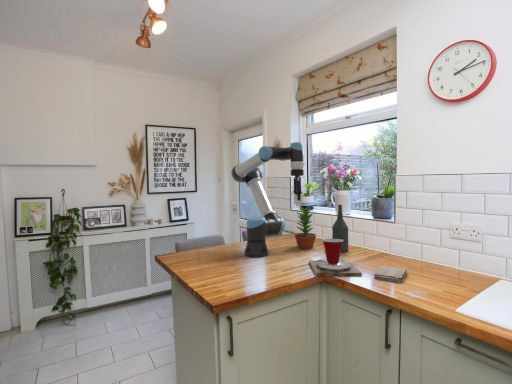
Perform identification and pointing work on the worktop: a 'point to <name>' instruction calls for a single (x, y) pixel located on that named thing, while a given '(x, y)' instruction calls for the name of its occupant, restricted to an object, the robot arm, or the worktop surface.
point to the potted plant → (305, 230)
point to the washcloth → (390, 274)
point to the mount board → (332, 273)
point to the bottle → (340, 230)
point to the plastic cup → (332, 249)
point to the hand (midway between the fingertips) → (297, 205)
